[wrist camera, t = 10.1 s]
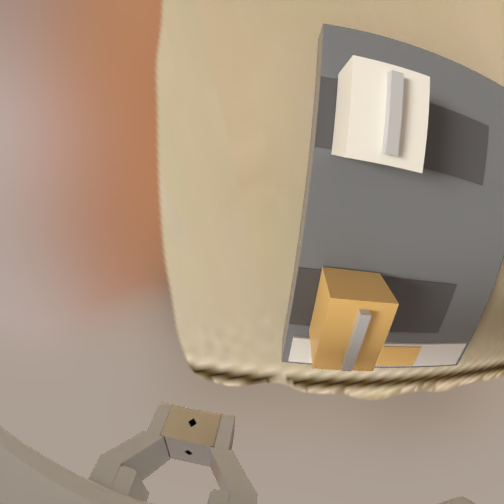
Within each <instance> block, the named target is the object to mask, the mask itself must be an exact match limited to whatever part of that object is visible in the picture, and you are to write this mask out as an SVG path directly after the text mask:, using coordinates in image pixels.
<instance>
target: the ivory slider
mask: <svg viewBox="0 0 504 504" xmlns="http://www.w3.org/2000/svg"><path fill="white" fill-rule="evenodd" d="M429 96H430V77H429V76H427V75H424V74H421V73H418V72H415V71H412V70H409V69H405V68H402V67H399V66H395V65H392V64H388V63H384V62H381V61H377V60H373V59H369V58H364V57H360V56H355V55H353V56H352V57H351V58H350V60H349V61H348V62H347V63H346V65H345V66H344V67H343V69H342V70H341V71H340V72H339V74H338V86H337V100H336V112H335V123H334V134H333V143H332V152H331V154H332V155H336V156H341V157H346V158H352V159H357V160H363V161H368V162H373V163H378V164H383V165H388V166H393V167H397V168H402V169H406V170H410V171H415V172H419V173H422V172H423V165H424V157H425V149H426V140H427V129H428V116H429Z"/></svg>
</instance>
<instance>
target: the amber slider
mask: <svg viewBox="0 0 504 504" xmlns="http://www.w3.org/2000/svg"><path fill="white" fill-rule="evenodd" d="M398 305H399V303H398V301H397V300H396V298H395V297H394V295H393V293H392V292H391V290H390V289H389V287H388V285H387V284H386V282H385V281H384V279H383V278H382V276H381V274H380V273H373V272H364V271H355V270H347V269H338V268H329V267H322V271H321V276H320V281H319V286H318V291H317V296H316V301H315V305H314V310H313V315H312V319H311V324H310V328H309V336H310V348H311V361H312V368H317V369H333V370H342V371H352V370H358V371H373V369H374V367H375V365H376V362H377V360H378V358H379V355H380V353H381V350H382V348H383V345H384V343H385V341H386V338H387V335H388V333H389V330H390V328H391V325H392V322H393V319H394V317H395V314H396V311H397V308H398Z"/></svg>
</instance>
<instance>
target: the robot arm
mask: <svg viewBox="0 0 504 504" xmlns="http://www.w3.org/2000/svg"><path fill="white" fill-rule="evenodd" d="M234 427H235V416H231V415H224V414H220V413H213V412H207V411H201V410H194V409H190V408H185V407H181V406H177V405H173V404H169V403H164V402H161V403H160V404H159V405H158V407H157V410H156V412H155V414H154V417H153V419H152V421H151V423H150V426H149V428H148V430H147V432H146V431H143V432H141V433H139V434H137V435H136V436H134V437H132V438H131V439H129V440H127V441H126V442H124V443H122V444H120V445H118V446H117V447H115V448H113V449H111V450H109V451H107V452H106V453H104V454H102V455H100V457H99V459H98V461H97V463H96V465H95V467H94V469H93V471H92V473H91V475H90V477H89V479H87V478H84V477H83V476H80V475H78V474H76V473H74V472H72V471H71V470H69V469H67V468H65V467H63V466H61V465H59V464H57V463H56V462H54V461H52V460H50V459H49V458H47V457H45V456H43V455H42V454H40V453H39V452H37V451H36V450H34V449H32V448H31V447H29V446H28V445H26V444H25V443H23V442H22V441H20V440H19V439H17V438H16V437H15V436H13V435H12V434H10V433H9V432H8V431H6V430H5V429H4V428H2V427H1V426H0V504H152V503H148V502H147V498H148V495H149V492H148V491H147V489H146V487H145V486H144V484H143V482H142V480H144V479H145V478H146V477H148V476H149V475H150V474H152V473H153V472H154V471H156V470H157V469H158V468H159V467H160V466H162V465H163V464H165V463H166V462H167V461H168V460H170V458H173V459H177V460H182V461H187V462H192V463H196V464H200V465H205V466H210V467H211V469H212V471H213V474H214V475H215V478H216V480H217V482H218V485H219V487H220V489H221V490H216V489H214V490H212V491H211V492H210V496H209V500H208V504H256V503H257V493H256V491H255V489H254V488H253V486H252V484H251V482H250V481H249V479H248V477H247V476H246V474H245V472H244V470H243V469H242V467H241V465H240V463H239V461H238V460H237V458H236V456H235V454H234V452H233V451H232V444H233V437H234ZM439 504H475V503H473V502H472V501H470V500H469V499H467V498H465V497H457V498H454V499H451V500H448V501H445V502H442V503H439Z"/></svg>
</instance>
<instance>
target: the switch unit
mask: <svg viewBox="0 0 504 504" xmlns="http://www.w3.org/2000/svg"><path fill="white" fill-rule="evenodd" d="M353 55H355V56H360V57H364V58H369V59H373V60H377V61H381V62H384V63H388V64H392V65H395V66H399V67H402V68H405V69H409V70H412V71H415V72H418V73H421V74H424V75H427V76H429V77H430V96H429V116H428V129H427V140H426V149H425V157H424V165H423V172H422V173H419V172H415V171H410V170H406V169H402V168H397V167H393V166H388V165H383V164H378V163H373V162H368V161H363V160H357V159H352V158H346V157H341V156H336V155H332V154H331V152H332V143H333V134H334V123H335V112H336V100H337V86H338V74H339V72H340V71H341V70H342V69H343V67H344V66H345V65H346V63H347V62H348V61H349V60H350V58H351V57H352V56H353ZM503 257H504V87H503V86H501V85H499V84H498V83H496V82H494V81H492V80H490V79H489V78H487V77H485V76H483V75H481V74H479V73H477V72H475V71H473V70H471V69H469V68H467V67H465V66H463V65H461V64H458V63H456V62H454V61H452V60H449V59H447V58H445V57H442V56H440V55H437V54H435V53H432V52H430V51H427V50H424V49H421V48H419V47H416V46H413V45H410V44H407V43H404V42H401V41H397V40H394V39H391V38H387V37H383V36H380V35H376V34H372V33H368V32H364V31H359V30H355V29H350V28H345V27H340V26H334V25H328V24H323V26H322V29H321V33H320V36H319V39H318V56H317V71H316V85H315V98H314V110H313V121H312V131H311V142H310V151H309V161H308V170H307V178H306V187H305V195H304V203H303V211H302V218H301V226H300V233H299V240H298V247H297V254H296V261H295V267H294V274H293V280H292V287H291V293H290V299H289V305H288V311H287V317H286V322H285V328H284V334H283V340H282V362H289V363H299V364H312V361H311V348H310V336H309V328H310V324H311V319H312V315H313V310H314V305H315V301H316V296H317V291H318V286H319V281H320V276H321V271H322V267H329V268H338V269H347V270H355V271H364V272H373V273H380V274H381V276H382V278H383V279H384V281H385V282H386V284H387V285H388V287H389V289H390V290H391V292H392V293H393V295H394V297H395V298H396V300H397V301H398V303H399V305H398V308H397V311H396V314H395V317H394V319H393V322H392V325H391V328H390V330H389V333H388V335H387V338H386V341H385V343H384V345H383V348H382V350H381V353H380V355H379V358H378V360H377V362H376V365H375V367H380V368H400V367H434V366H451V365H457V364H458V363H459V361H460V359H461V357H462V355H463V353H464V352H465V350H466V348H467V346H468V344H469V342H470V340H471V338H472V336H473V334H474V332H475V330H476V327H477V325H478V323H479V321H480V319H481V316H482V314H483V312H484V309H485V307H486V305H487V302H488V300H489V297H490V295H491V292H492V289H493V287H494V284H495V281H496V278H497V276H498V273H499V270H500V267H501V263H502V260H503Z"/></svg>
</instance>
